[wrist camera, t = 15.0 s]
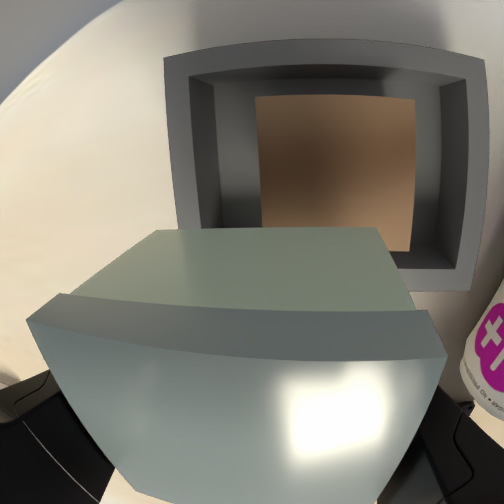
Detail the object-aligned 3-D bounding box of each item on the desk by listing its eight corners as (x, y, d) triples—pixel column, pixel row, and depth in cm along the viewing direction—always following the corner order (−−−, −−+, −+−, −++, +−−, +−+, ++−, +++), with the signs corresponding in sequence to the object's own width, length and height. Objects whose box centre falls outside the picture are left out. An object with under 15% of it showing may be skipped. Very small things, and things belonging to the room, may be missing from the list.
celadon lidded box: (357, 395, 10) (358, 524, 5) (190, 384, 11) (135, 490, 6) (380, 223, 7) (447, 357, 3) (153, 226, 9) (25, 319, 4)
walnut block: (386, 217, 16) (409, 251, 11) (279, 215, 17) (263, 248, 13) (387, 108, 14) (414, 99, 9) (274, 106, 15) (254, 97, 11)
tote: (442, 257, 17) (469, 291, 13) (213, 251, 20) (186, 283, 16) (449, 73, 13) (484, 59, 9) (198, 71, 16) (163, 57, 12)
